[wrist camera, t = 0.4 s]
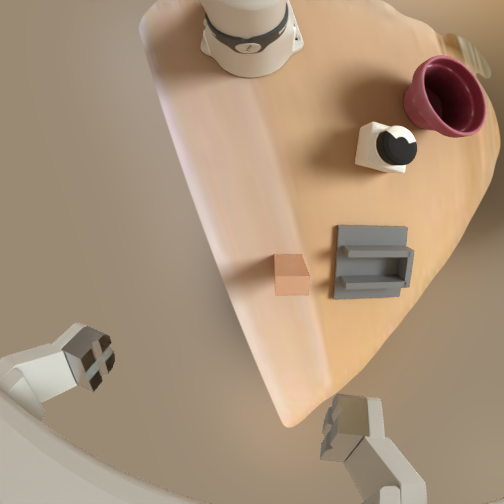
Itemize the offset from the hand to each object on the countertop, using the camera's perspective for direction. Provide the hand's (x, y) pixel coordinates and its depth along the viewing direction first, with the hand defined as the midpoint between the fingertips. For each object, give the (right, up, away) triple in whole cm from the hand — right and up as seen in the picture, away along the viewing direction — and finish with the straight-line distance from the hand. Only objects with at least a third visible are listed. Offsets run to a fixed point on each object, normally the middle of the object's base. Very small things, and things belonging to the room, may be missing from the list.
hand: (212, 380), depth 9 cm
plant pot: (+34, +32, +36) cm, 60 cm away
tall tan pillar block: (+8, +2, +45) cm, 46 cm away
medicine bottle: (+24, +23, +39) cm, 51 cm away
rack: (+24, +2, +44) cm, 50 cm away
